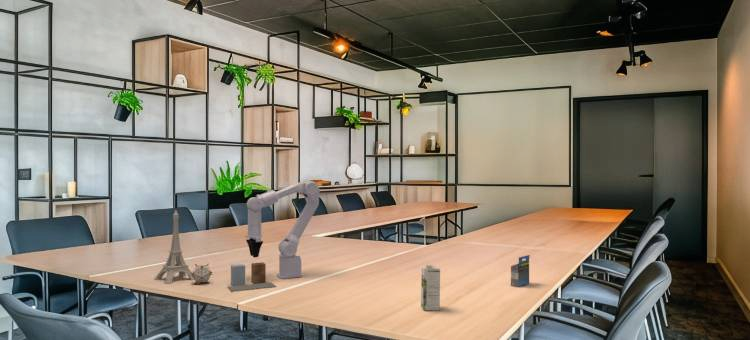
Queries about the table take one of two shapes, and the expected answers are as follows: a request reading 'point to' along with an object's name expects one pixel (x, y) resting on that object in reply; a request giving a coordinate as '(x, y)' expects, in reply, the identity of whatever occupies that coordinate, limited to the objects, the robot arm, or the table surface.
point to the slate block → (237, 274)
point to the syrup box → (430, 288)
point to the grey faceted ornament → (201, 273)
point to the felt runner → (251, 286)
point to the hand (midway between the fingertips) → (254, 256)
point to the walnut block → (258, 273)
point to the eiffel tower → (175, 258)
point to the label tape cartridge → (520, 272)
